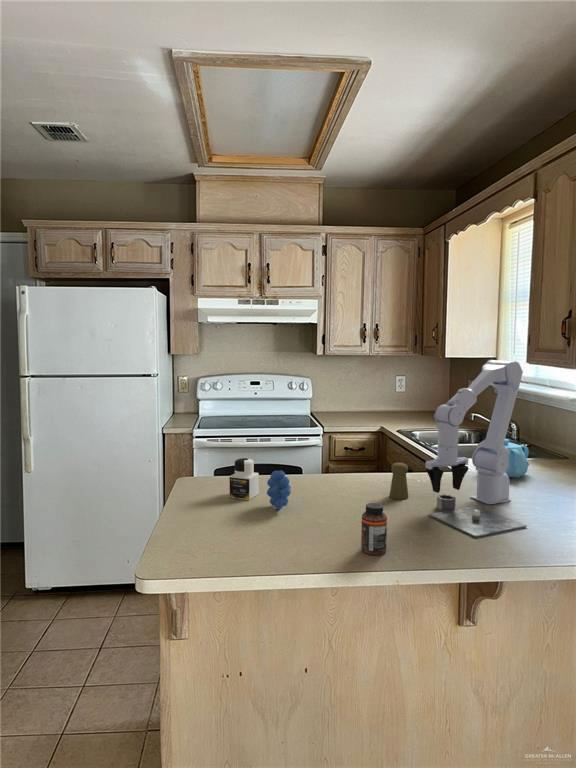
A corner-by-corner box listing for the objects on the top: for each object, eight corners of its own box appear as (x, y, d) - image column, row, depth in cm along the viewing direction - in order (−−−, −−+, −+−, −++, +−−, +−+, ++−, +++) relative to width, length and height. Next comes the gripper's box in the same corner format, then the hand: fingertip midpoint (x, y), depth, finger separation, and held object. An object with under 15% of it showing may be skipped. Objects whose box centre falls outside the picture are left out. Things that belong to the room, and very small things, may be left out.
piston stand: (476, 507, 153) (476, 497, 153) (526, 527, 137) (526, 516, 137) (428, 515, 146) (428, 505, 146) (475, 538, 130) (475, 526, 129)
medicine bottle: (229, 497, 162) (228, 460, 161) (239, 491, 169) (239, 456, 168) (249, 500, 160) (249, 462, 159) (259, 494, 166) (259, 458, 165)
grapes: (301, 512, 149) (301, 471, 148) (281, 516, 145) (281, 475, 144) (281, 501, 159) (281, 463, 158) (262, 504, 155) (261, 466, 154)
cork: (408, 500, 160) (409, 466, 159) (389, 499, 161) (389, 465, 160) (408, 494, 166) (409, 461, 165) (389, 493, 167) (390, 460, 166)
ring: (446, 504, 156) (447, 493, 156) (458, 510, 151) (459, 498, 151) (433, 507, 154) (433, 495, 153) (445, 512, 149) (445, 500, 149)
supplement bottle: (358, 546, 125) (359, 501, 124) (382, 545, 125) (383, 500, 124) (364, 556, 119) (365, 509, 118) (389, 555, 119) (390, 508, 118)
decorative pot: (472, 475, 191) (473, 439, 189) (491, 467, 202) (492, 433, 200) (516, 484, 179) (518, 445, 178) (534, 475, 190) (535, 439, 189)
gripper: (457, 441, 157) (455, 484, 158) (419, 444, 151) (418, 489, 153) (474, 445, 151) (472, 490, 152) (435, 449, 145) (433, 496, 146)
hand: (446, 490), depth 152 cm, fingers open, 7 cm apart
